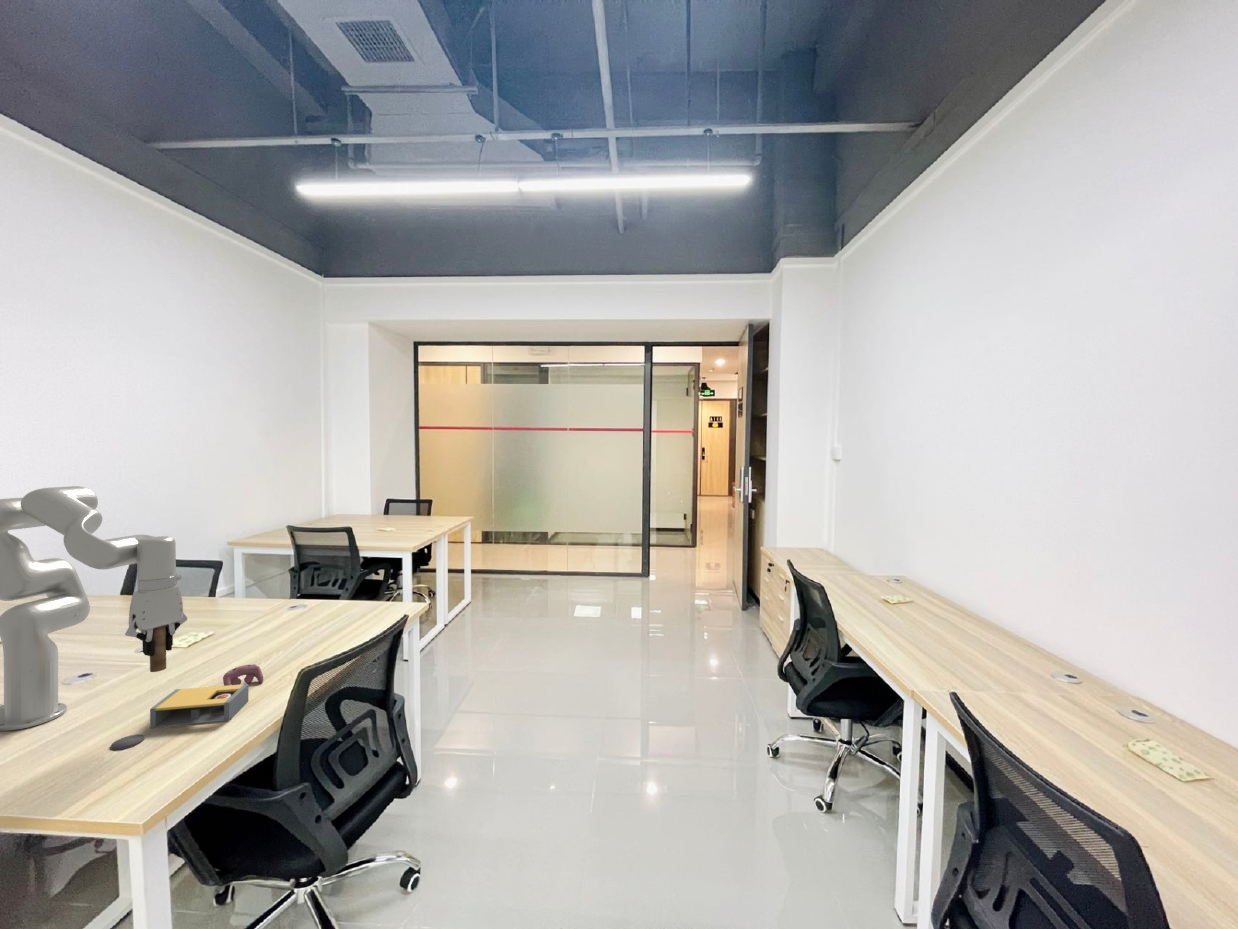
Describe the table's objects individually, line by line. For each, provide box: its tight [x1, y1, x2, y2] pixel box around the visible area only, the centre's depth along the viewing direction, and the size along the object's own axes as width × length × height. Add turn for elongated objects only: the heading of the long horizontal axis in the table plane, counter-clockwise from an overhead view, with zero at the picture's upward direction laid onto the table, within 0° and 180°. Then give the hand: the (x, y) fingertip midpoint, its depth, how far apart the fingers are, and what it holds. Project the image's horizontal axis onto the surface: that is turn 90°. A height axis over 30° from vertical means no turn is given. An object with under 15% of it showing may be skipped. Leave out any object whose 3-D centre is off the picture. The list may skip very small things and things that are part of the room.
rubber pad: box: [110, 734, 145, 751], centre depth 125 cm, size 6×6×1 cm
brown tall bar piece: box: [149, 625, 167, 673], centre depth 133 cm, size 3×3×13 cm
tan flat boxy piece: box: [149, 683, 250, 729], centre depth 139 cm, size 18×11×5 cm, turn 104°
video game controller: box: [222, 663, 264, 686], centre depth 157 cm, size 10×5×7 cm, turn 141°
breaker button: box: [215, 694, 231, 699], centre depth 140 cm, size 4×4×2 cm
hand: (158, 651), depth 133 cm, fingers closed on brown tall bar piece, 3 cm apart
